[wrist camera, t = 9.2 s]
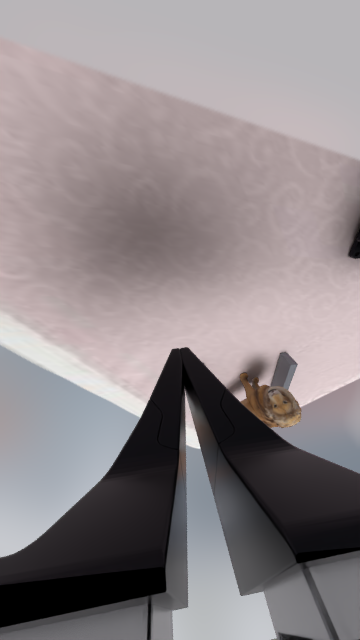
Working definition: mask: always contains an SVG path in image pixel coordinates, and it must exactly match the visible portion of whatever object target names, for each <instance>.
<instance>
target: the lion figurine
mask: <svg viewBox="0 0 360 640" xmlns="http://www.w3.org/2000/svg"><path fill="white" fill-rule="evenodd" d="M247 378H248V375H247V373H242V374H241V375H240V380H241V382H242V384H243V385H244V388H245V391H246V397H247V398H246V399H244V400H243V401H241V403H242V404H243V405H244V406H245V407H246V408H247V409H248V410H250V411H251V412H252V413H253V414H254V415H255V416H257V417H258V418H259V419H260V420H261V421H262V422H264V423H265V424H266V425H267V426H268V427H270V428H272V427H278V426H279V427H281V428H284V427H291V426H293V425H295V424H297V422H300V419H301V408H300V407H299V404H298V402H297V401H296V400H295V398H294V397H293V395H292V394H291V393H290V392H289V391H288V390H287V389H285V388H283V387H279V386H274V387H269V386H267V385H263V386H259V385H258V384H257V383H258V382H259V379H258V378H257V377H255V378H253V379H252V386H251V385H250V384H249V382H248V380H247Z"/></svg>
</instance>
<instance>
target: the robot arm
mask: <svg viewBox="0 0 360 640" xmlns="http://www.w3.org/2000/svg"><path fill="white" fill-rule="evenodd" d="M349 256H350V258H355V259H356V258H360V230H359V232H358V234H357V237H356V239H355V242H354V244H353V247H352V249H351V252H350V255H349ZM185 391H186V396H187V399H188V403H189V407H190V410H191V414H192V418H193V421H194V425H195V429H196V432H197V436H198V440H199V444H200V447H201V451H202V455H203V458H204V462H205V466H206V469H207V473H208V477H209V481H210V484H211V488H212V491H213V495H214V499H215V503H216V506H217V510H218V514H219V517H220V521H221V525H222V529H223V532H224V536H225V540H226V543H227V547H228V551H229V555H230V558H231V562H232V566H233V569H234V573H235V577H236V580H237V584H238V588H239V591H240V595H241V596H243V595H249V594H253V593H258V592H263V591H264V594H265V597H266V601H267V605H268V608H269V611H270V615H271V619H272V622H273V626H274V629H275V633H276V636H277V639H272V640H360V474H359V473H357V472H354V471H352V470H349V469H347V468H345V467H342V466H340V465H337V464H335V463H332V462H330V461H328V460H325V459H323V458H320V457H318V456H316V455H313V454H311V453H308V452H306V451H303V450H301V449H299V448H297V447H295V446H293V445H291V444H290V443H288V442H287V441H286V440H284V439H283V438H281V437H280V436H279V435H278V434H276V433H275V432H274V431H273V430H272V429H271V428H270V427H268V426H267V425H266V424H265V423H264V422H262V421H261V420H260V419H259V418H258V417H257V416H255V415H254V414H253V413H252V412H251V411H250V410H248V409H247V408H246V407H245V406H244V405H243V404H242V403H241V402H240V401H239V400H238V399H237V398H236V397H235V396H234V395H233V394H232V393H231V392H230V391H229V390H228V389H226V387H225V386H224V385H223V384H222V383H221V382H220V381H219V380H218V379H217V378H216V377H215V375H214V374H213V373H212V372H211V371H210V370H209V369H208V368H207V367H206V366H205V365H204V364H203V363H202V362H201V361H200V360H199V359H198V358H197V357H196V355H195V354H194V353H193V352H192V351H191V350H190V349H189V348H188V347H185V348H180V349H179V348H177V349H172V350H171V353H170V355H169V357H168V359H167V361H166V364H165V366H164V368H163V370H162V373H161V375H160V377H159V379H158V381H157V384H156V386H155V388H154V390H153V392H152V395H151V397H150V400H149V401H148V403H147V406H146V408H145V410H144V412H143V414H142V416H141V418H140V420H139V422H138V423H137V425H136V427H135V428H134V430H133V432H132V434H131V435H130V437H129V439H128V440H127V442H126V444H125V445H124V447H123V448H122V450H121V452H120V454H119V455H118V457H117V459H116V460H115V462H114V463H113V465H112V466H111V468H110V470H109V471H108V472H107V473H106V475H105V476H104V477H103V478H102V479H101V481H99V482H98V483H97V484H96V485H95V486H94V487H93V488H92V489H91V490H90V491H89V492H88V493H87V494H86V495H85V496H84V497H82V498H81V499H80V500H79V501H78V502H77V503H76V504H75V505H74V506H73V507H72V508H71V509H70V510H69V511H68V512H66V513H65V515H63V516H62V517H61V518H60V519H59V520H58V521H57V522H56V523H55V524H54V525H52V526H51V527H50V528H49V529H48V530H47V531H46V532H45V533H44V534H43V535H42V536H40V537H39V538H38V539H37V540H36V541H34V542H33V543H31V544H30V545H28V546H27V547H25V548H24V549H22V550H20V551H18V552H17V553H14V554H12V555H9V556H6V557H1V558H0V640H173V624H172V611H173V610H178V609H182V608H187V607H188V572H187V503H186V429H185Z"/></svg>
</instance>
